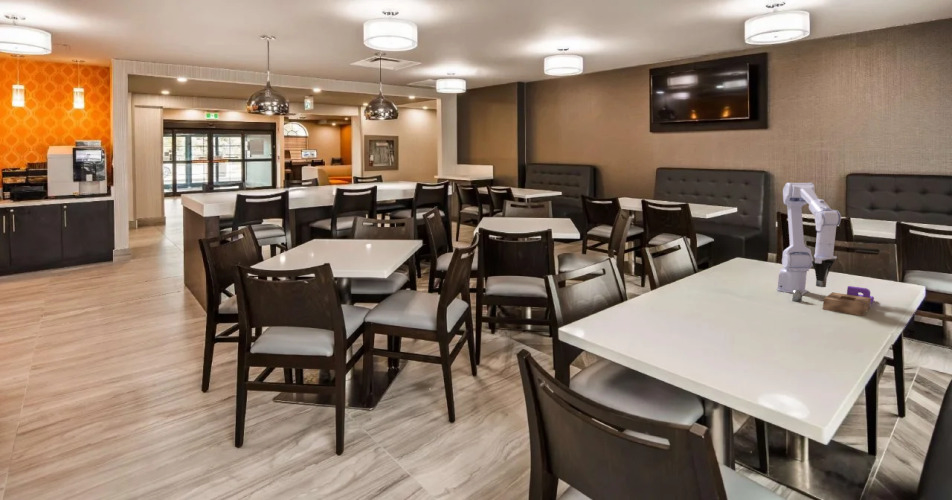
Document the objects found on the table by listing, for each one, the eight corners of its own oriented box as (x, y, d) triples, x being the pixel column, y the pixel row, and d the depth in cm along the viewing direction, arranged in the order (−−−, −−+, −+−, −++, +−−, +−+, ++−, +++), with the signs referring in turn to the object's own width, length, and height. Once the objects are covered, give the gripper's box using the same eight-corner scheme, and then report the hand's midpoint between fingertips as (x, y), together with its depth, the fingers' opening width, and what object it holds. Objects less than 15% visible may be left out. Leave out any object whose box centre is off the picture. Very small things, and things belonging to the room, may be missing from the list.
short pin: (791, 301, 210) (792, 290, 209) (793, 299, 212) (794, 289, 211) (800, 302, 208) (801, 292, 207) (802, 300, 210) (803, 290, 209)
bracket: (867, 308, 201) (870, 289, 200) (845, 304, 205) (847, 286, 204) (873, 301, 209) (875, 284, 208) (852, 298, 214) (854, 281, 213)
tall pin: (814, 286, 204) (816, 266, 202) (817, 284, 206) (819, 265, 204) (824, 287, 201) (826, 267, 200) (826, 286, 204) (829, 266, 202)
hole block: (822, 309, 199) (823, 298, 198) (831, 302, 207) (832, 292, 206) (862, 315, 190) (863, 304, 190) (869, 308, 199) (871, 298, 198)
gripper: (832, 247, 193) (828, 284, 195) (842, 242, 203) (839, 278, 205) (809, 244, 198) (806, 281, 200) (821, 240, 208) (817, 275, 210)
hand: (821, 279), depth 203 cm, fingers closed on tall pin, 3 cm apart
